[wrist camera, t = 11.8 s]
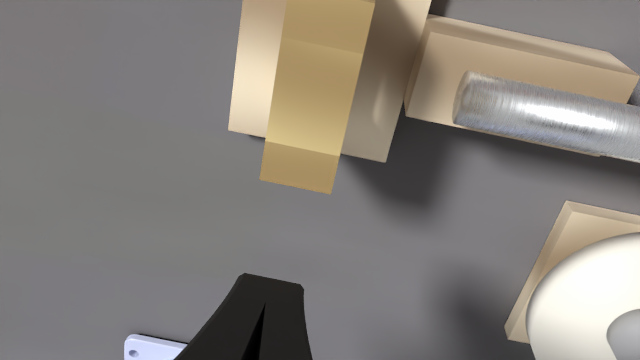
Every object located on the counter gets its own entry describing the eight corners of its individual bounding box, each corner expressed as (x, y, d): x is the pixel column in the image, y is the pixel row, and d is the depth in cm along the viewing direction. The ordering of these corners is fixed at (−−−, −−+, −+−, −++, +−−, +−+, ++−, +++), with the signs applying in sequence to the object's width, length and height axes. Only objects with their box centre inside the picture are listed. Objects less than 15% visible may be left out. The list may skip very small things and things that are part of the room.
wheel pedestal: (650, 356, 25) (665, 382, 24) (504, 326, 25) (511, 351, 24) (736, 236, 22) (759, 258, 20) (566, 200, 22) (578, 221, 20)
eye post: (546, 184, 21) (607, 293, 16) (234, 119, 21) (184, 206, 16) (644, -27, 17) (771, 20, 12) (261, -110, 17) (207, -102, 12)
